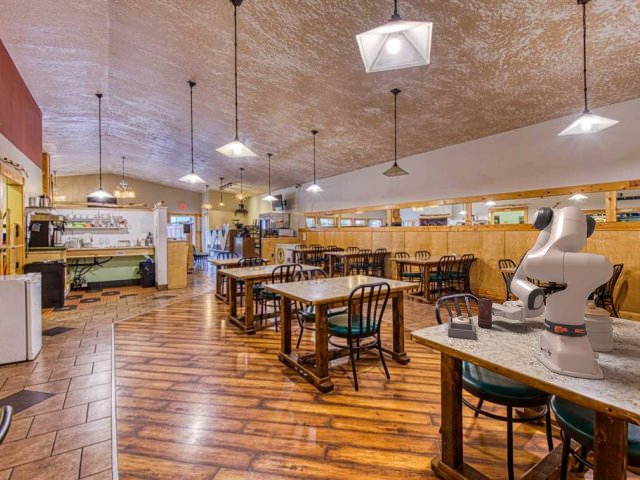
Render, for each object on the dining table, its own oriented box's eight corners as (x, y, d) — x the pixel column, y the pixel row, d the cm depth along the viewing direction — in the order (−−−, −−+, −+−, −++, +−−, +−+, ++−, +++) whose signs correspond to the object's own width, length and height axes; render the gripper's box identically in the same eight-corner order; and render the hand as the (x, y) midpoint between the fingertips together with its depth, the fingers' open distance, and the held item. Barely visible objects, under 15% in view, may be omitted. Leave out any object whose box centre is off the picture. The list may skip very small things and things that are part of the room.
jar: (568, 346, 129) (569, 303, 128) (573, 338, 138) (573, 298, 138) (612, 355, 120) (613, 308, 119) (613, 346, 129) (614, 302, 129)
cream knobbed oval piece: (469, 328, 151) (469, 319, 151) (452, 327, 154) (452, 317, 154) (469, 324, 158) (469, 315, 158) (452, 322, 161) (452, 313, 161)
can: (494, 328, 154) (494, 299, 153) (480, 328, 155) (479, 299, 155) (490, 325, 160) (490, 297, 159) (476, 324, 161) (476, 296, 161)
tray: (475, 339, 139) (475, 331, 139) (448, 336, 143) (447, 328, 143) (472, 325, 159) (472, 318, 159) (449, 323, 164) (449, 316, 164)
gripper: (496, 299, 170) (472, 300, 167) (527, 308, 150) (501, 309, 147) (496, 311, 170) (473, 312, 167) (527, 321, 150) (501, 323, 147)
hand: (486, 311), depth 157 cm, fingers open, 8 cm apart
